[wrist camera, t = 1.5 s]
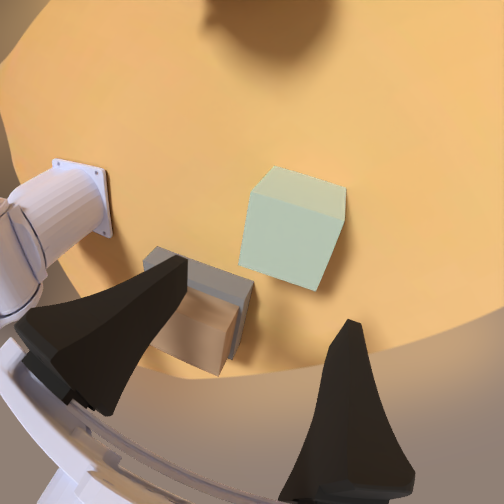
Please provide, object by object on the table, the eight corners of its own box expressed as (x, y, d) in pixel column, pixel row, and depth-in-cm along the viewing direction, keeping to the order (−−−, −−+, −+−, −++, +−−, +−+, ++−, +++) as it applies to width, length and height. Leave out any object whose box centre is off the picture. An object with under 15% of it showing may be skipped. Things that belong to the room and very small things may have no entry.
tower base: (165, 308, 32) (153, 325, 30) (160, 243, 26) (142, 260, 24) (241, 339, 31) (232, 360, 28) (255, 277, 25) (244, 299, 22)
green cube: (261, 226, 21) (238, 265, 17) (274, 165, 18) (250, 191, 14) (324, 247, 20) (315, 291, 16) (346, 187, 17) (344, 221, 13)
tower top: (163, 325, 29) (149, 344, 27) (158, 273, 24) (139, 294, 22) (229, 354, 28) (218, 376, 25) (239, 306, 23) (225, 332, 21)
